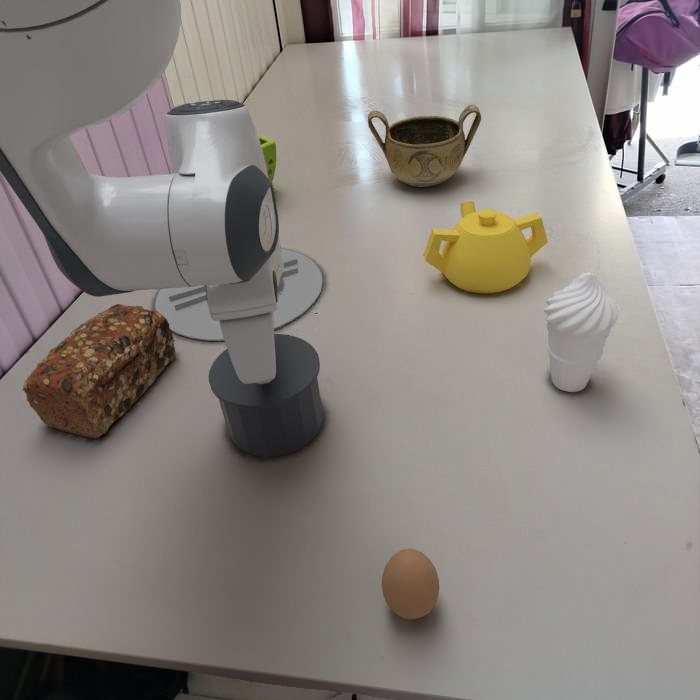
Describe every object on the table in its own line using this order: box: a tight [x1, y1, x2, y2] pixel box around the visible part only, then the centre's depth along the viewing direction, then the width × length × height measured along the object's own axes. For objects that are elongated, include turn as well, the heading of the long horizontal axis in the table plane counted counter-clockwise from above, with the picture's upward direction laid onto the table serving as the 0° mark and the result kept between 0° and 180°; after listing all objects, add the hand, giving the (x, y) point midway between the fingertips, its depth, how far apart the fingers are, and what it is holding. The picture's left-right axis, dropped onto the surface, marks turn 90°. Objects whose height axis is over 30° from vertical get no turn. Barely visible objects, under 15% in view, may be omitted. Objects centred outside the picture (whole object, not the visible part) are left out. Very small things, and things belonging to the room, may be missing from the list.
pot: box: [218, 377, 324, 458], centre depth 78 cm, size 12×12×8 cm
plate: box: [154, 248, 324, 342], centre depth 106 cm, size 28×28×1 cm
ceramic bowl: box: [367, 104, 482, 188], centre depth 130 cm, size 22×17×15 cm
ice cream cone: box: [543, 271, 619, 393], centre depth 77 cm, size 8×8×16 cm
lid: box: [208, 333, 321, 409], centre depth 75 cm, size 13×13×5 cm
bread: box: [21, 303, 176, 439], centre depth 86 cm, size 19×11×10 cm, turn 158°
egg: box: [381, 548, 440, 620], centre depth 57 cm, size 5×5×8 cm
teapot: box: [422, 201, 549, 295], centre depth 102 cm, size 20×18×11 cm
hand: (262, 361), depth 75 cm, fingers open, 5 cm apart
